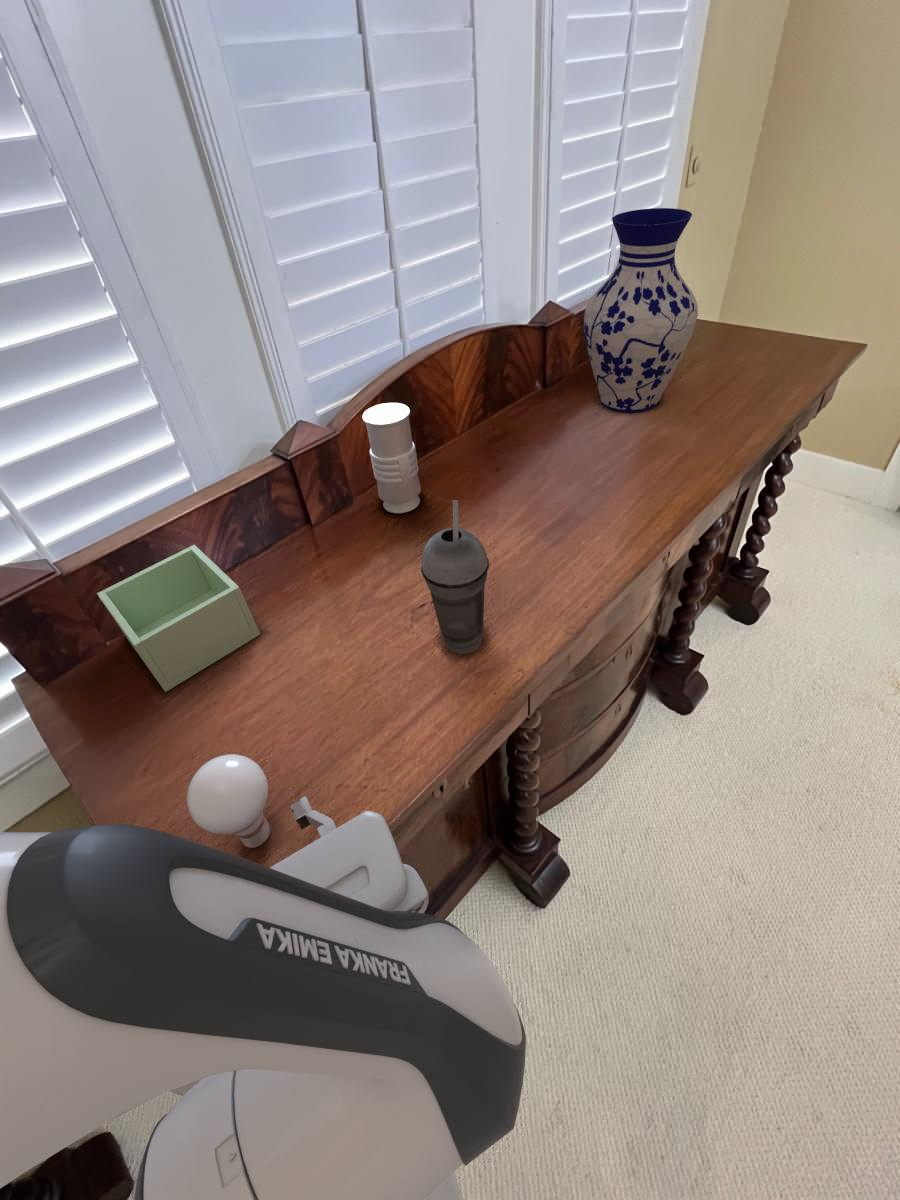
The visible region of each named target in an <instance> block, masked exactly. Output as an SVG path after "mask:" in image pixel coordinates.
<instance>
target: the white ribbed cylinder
mask: <svg viewBox="0 0 900 1200" xmlns="http://www.w3.org/2000/svg"><path fill="white" fill-rule="evenodd" d="M410 415H411V410H410V408H409V407H408V406H407V405H406V404H404V403H401V402H400V403H399V402H386V403H380V404H376V405H374V406H372V407H369V408H368V409H366V410H365V411H364V412H363V414H362V421H363V422H364V424H365V426H366V432H367V436H368V441H369V442H368V443H369V447H370V449H369V451H368V452H369V457H370V462H371V465H372V466H371V467H372V471H373V477H374V479H375V480H376V485H377V494H378V497H379V499H380V500H382V501H383V503H382V505H383V508H384V509H385V510H386V511H387V512H389V513H393V514H403V513H407V512H411V511H413V510H415V509H416V508H417V507H418V506H419V505H420V503H421V498H420V496H419V495H420V493H421V491H422V487H421V483H420V479H419V475H418V473H419V471H420V470H419V465H418V464H419V463H418V457H417V456H418V454H417V452H416V448H417V447H416V443H414V441H413V436H412V430H411V423H410V418H409V417H410Z"/></svg>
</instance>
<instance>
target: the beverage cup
mask: <svg viewBox="0 0 900 1200" xmlns="http://www.w3.org/2000/svg"><path fill="white" fill-rule="evenodd" d="M487 554H488V553H487V552H486V549H485V547H484V545H483V543H482V541H481V540H480V539H479V538H478V537H477V536H476V535H475V534H473V533H472V532H470V531H468V530H466V529H464V528H461V527H460V528H459V501H458V500H452V527H449V528H444V529H442V530H440V531H438V532H437V533H435V534H434V535H432V536H431V537H430V538H429V540H428V541H427V542H426V545H425V546H424V548H423V552H422V557H421V568H420V573H421V575H422V578H423V579H424V580H425V581H424V582H425V583H426V586H427V589H428V590H429V593H430V597H431V600H432V604H433V607H434V610H435V614H436V618H437V622H438V626H439V629H440V633H441V636H442V638H443V640H444V644H445V647H446V648H447V649H448V650H449V651H450V652H452V653H455V654H460V655H462V654H463V655H466V654H469V653H472V652H474V651H477V649H479V647H481V645H482V642H483V633H484V612H485V586H486V582H487V578H488V570H489V568H490V561H489V557H488V555H487Z"/></svg>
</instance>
